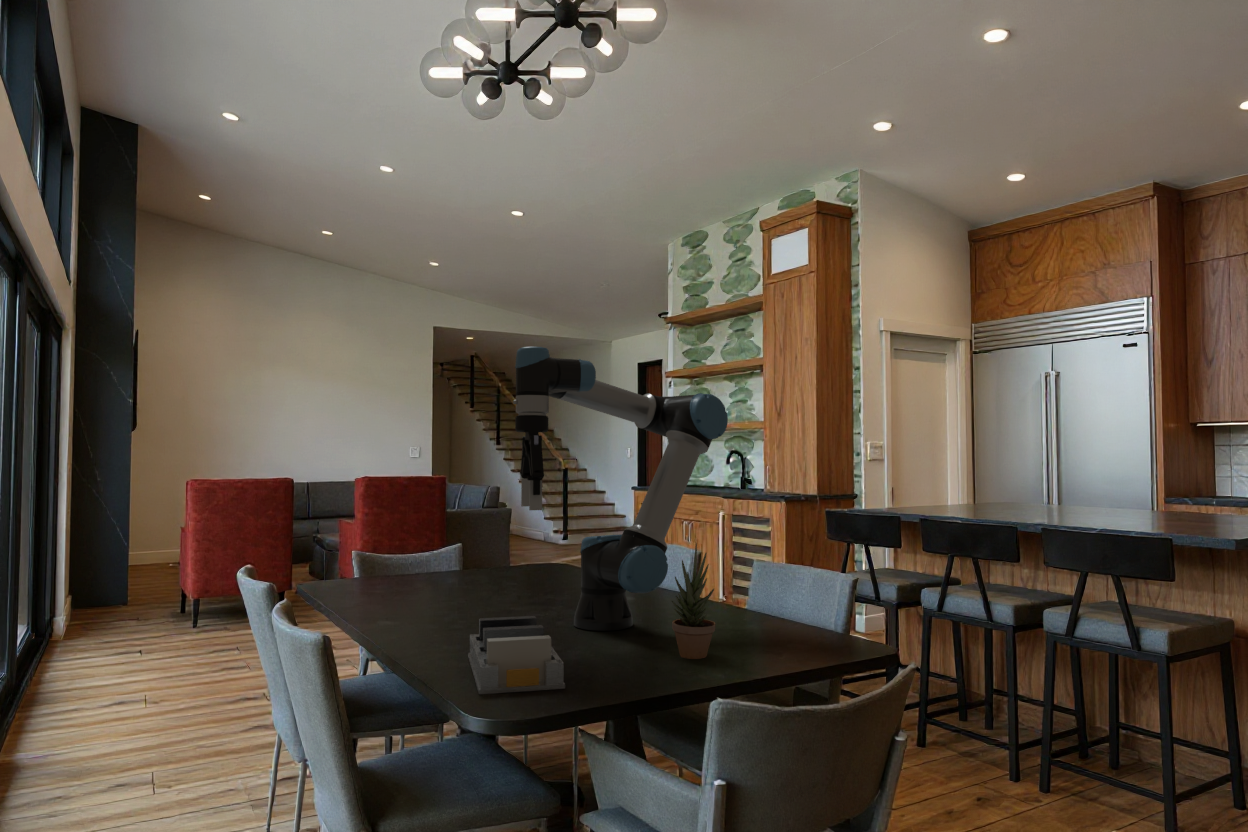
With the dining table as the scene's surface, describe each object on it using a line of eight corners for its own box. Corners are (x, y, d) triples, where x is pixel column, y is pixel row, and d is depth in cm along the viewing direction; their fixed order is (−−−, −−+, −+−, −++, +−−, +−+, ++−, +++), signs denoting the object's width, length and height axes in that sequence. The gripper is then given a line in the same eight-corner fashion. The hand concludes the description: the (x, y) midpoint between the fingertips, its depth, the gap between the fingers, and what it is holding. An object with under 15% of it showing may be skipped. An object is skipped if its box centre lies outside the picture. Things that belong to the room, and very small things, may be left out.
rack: (468, 656, 181) (468, 615, 181) (541, 652, 185) (541, 612, 185) (479, 695, 152) (479, 646, 152) (565, 689, 156) (565, 641, 156)
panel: (486, 681, 159) (486, 638, 159) (548, 676, 162) (549, 635, 162) (487, 684, 156) (488, 641, 156) (550, 680, 159) (551, 638, 159)
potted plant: (720, 660, 178) (720, 544, 179) (677, 662, 177) (677, 545, 178) (708, 649, 188) (708, 539, 189) (667, 650, 186) (667, 540, 188)
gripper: (509, 416, 201) (508, 505, 200) (522, 412, 177) (521, 512, 176) (540, 417, 203) (539, 504, 202) (557, 412, 179) (557, 511, 178)
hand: (531, 508), depth 189 cm, fingers open, 13 cm apart
